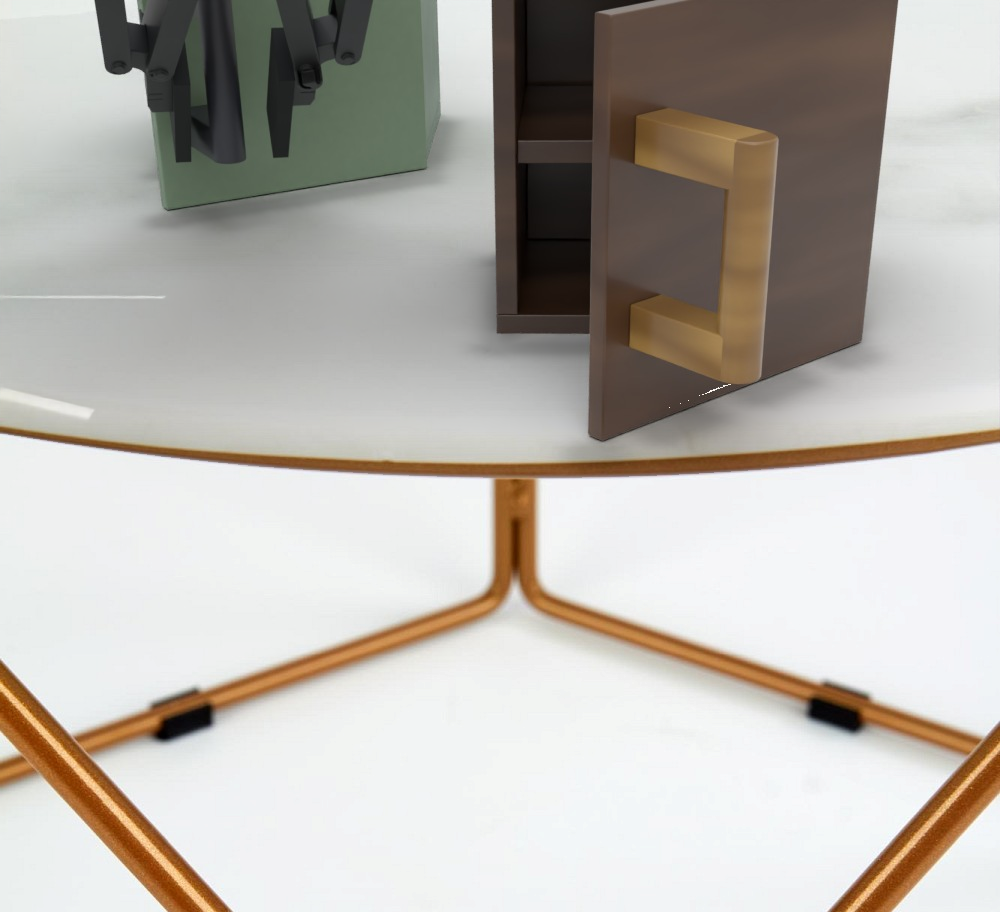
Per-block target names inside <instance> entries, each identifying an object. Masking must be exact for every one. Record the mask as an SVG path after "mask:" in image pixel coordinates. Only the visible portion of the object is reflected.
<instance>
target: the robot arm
mask: <svg viewBox="0 0 1000 912" xmlns="http://www.w3.org/2000/svg"><path fill="white" fill-rule="evenodd" d="M197 2H198V0H148V1H147V4H146V8H145V12H144V13H142V10H141V9H139V13H138V16H139V15H140V22H139V23H137V22H136V23H135V22H131V21H128V17H127V9H126V2H125V0H94V7H95V14H96V20H97V26H98V30H99V31H98V33H99V39H100V45H101V46H100V47H101V51H102V57H103V64H104V69H105V71H106V72H108V73H109V74H110V75H115V76H122V75H126V74H129V73H130V72H131V71H132V70H133V69H136V70H139V71H140V72H142V73H143V77H144V80H143V81H144V87H145V95H146V103H147V107H148V109H149V110H151V111H152V113H154V112H170V120H171V128H172V136H173V144H174V152H175V160H176V163H179V162H191V84H190V76H189V69H188V61H187V53H186V45H185V39H186V36H187V33H188V30H189V26H190V23H191V20H192V17H193V14H194V11H195V8H196V5H197ZM276 2H277V6H278V9H279V13H280V17H281V21H282V24H283V27H280V28H271V40H270V57H269V73H268V89H267V105H266V110H267V117H268V124H269V131H270V139H271V146H272V153H273V158H284V157H288V156H289V145H290V134H291V122H292V111H293V106H302V105H311V103H312V102H313V101H314V100H315V94H316V89H318V88H319V87H321V86H322V84H323V77H322V70H321V64H323V63H324V62H326V61H329V60H332V59H335V61H336V62H337V63H338V64H340V65H345V66H348V65H353V64H355V63H357V62H358V61H360V59H361V56H362V52H363V47H364V42H365V37H366V32H367V28H368V23H369V18H370V13H371V8H372V4H373V0H330V1H329V7H328V14H329V15H327V16H323V17H319V18H315V19H314V16H313V12H312V8H311V4H310V0H276ZM140 23H141V24H140ZM151 111H150V112H151Z"/></svg>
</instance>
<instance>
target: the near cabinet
mask: <svg viewBox="0 0 1000 912" xmlns="http://www.w3.org/2000/svg"><path fill="white" fill-rule="evenodd" d="M650 1H655V0H491V44H492V45H491V53H492V54H491V55H492V61H491V62H492V116H493V117H492V119H493V122H492V123H493V176H494V177H493V180H494V182H493V183H494V184H493V185H494V187H493V189H494V190H493V191H494V244H495V246H494V247H495V248H494V249H495V250H494V251H495V304H496V305H495V308H496V309H495V311H496V317H495V319H496V334H499V335H500V334H501V335H503V334H505V335H507V334H512V335H513V334H514V335H515V334H516V335H517V334H518V335H522V334H524V335H525V334H526V335H528V334H529V335H531V334H532V335H548V334H549V335H562V334H563V335H590V279H591V215H592V151H593V86H594V22H595V13H596V12H599V11H604V10H609V9H614V8H619V7H625V6H630V5H635V4H640V3H645V2H650Z"/></svg>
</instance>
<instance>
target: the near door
mask: <svg viewBox="0 0 1000 912" xmlns="http://www.w3.org/2000/svg"><path fill="white" fill-rule="evenodd" d="M898 6H899V0H655V1H650V2H645V3H640V4H635V5H630V6H625V7H619V8H614V9H609V10H604V11H599V12H596V13H595V22H594V86H593V151H592V215H591V279H590V334H589V346H588V347H589V349H588V351H589V353H588V355H589V356H588V359H589V360H588V407H587V408H588V413H587V414H588V416H587V419H588V420H587V435H588V436H590V437H591V438H594V439H597V440H599V441H602V442H603V441H607V440H609V439H611V438H614V437H617V436H619V435H621V434H625V433H627V432H630V431H632V430H635V429H637V428H640V427H642V426H645V425H647V424H650V423H653V422H656V421H658V420H660V419H663V418H667V417H668V416H671V415H675V414H676V413H679V412H681V411H684V410H686V409H689V408H692V407H695V406H697V405H700V404H702V403H705V402H708V401H710V400H713V399H715V398H718V397H720V396H723V395H726V394H728V393H731V392H733V391H737V390H739V389H741V388H744V387H747V386H750V385H752V384H755V383H756V382H760V381H763V380H765V379H767V378H770V377H773V376H776V375H777V374H781V373H782V372H786V371H787V370H788V371H789V370H791V369H793V368H796V367H799V366H801V365H803V364H806V363H810V362H811V361H814V360H816V359H820V358H822V357H825V356H827V355H830V354H832V353H835V352H837V351H840V350H843V349H845V348H848V347H850V346H853V345H855V344H856V345H857V344H859V343H861V342H862V341H863V333H864V325H865V324H864V323H865V316H866V315H865V314H866V306H867V297H868V296H867V295H868V286H869V279H870V278H869V277H870V269H871V268H870V267H871V259H872V250H873V241H874V240H873V239H874V231H875V223H876V212H877V203H878V193H879V185H880V177H881V167H882V158H883V157H882V156H883V147H884V137H885V128H886V118H887V109H888V100H889V92H890V84H891V83H890V82H891V74H892V73H891V72H892V63H893V53H894V45H895V36H896V35H895V34H896V25H897V18H898V17H897V16H898ZM728 384H731V385H728ZM723 385H728V386H725V387H723ZM718 387H719V388H720V387H723V388H720V389H717V390H715V391H712V392H710V393H707V392H709V391H710V390H713V389H716V388H718ZM705 393H707V394H705ZM702 394H704V395H702ZM699 395H700V396H699ZM688 400H689V401H688ZM680 403H681V404H680ZM669 407H670V408H669Z"/></svg>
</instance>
